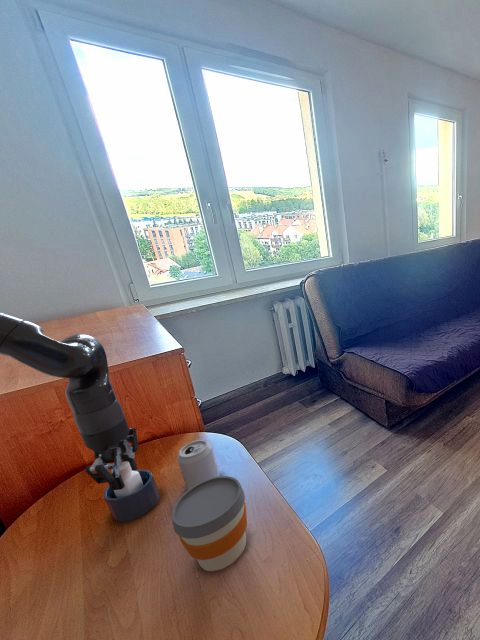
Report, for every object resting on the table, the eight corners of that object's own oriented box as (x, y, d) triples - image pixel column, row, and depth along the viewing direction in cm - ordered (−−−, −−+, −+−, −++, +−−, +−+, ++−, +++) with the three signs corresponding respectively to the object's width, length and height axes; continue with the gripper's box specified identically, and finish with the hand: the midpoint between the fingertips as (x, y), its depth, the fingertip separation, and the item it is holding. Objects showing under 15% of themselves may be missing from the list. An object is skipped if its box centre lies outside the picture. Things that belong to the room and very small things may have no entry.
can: (192, 475, 92) (181, 440, 88) (223, 469, 94) (213, 435, 90) (183, 497, 85) (170, 461, 81) (216, 490, 87) (205, 454, 83)
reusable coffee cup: (262, 552, 72) (249, 502, 67) (194, 595, 65) (173, 542, 59) (246, 513, 81) (234, 465, 76) (185, 546, 73) (166, 496, 68)
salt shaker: (117, 502, 80) (104, 472, 77) (131, 489, 84) (119, 459, 80) (133, 503, 80) (121, 473, 77) (146, 489, 84) (135, 460, 80)
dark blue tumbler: (128, 527, 78) (118, 505, 75) (105, 514, 81) (94, 492, 78) (168, 496, 86) (160, 475, 83) (145, 485, 89) (137, 465, 86)
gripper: (103, 405, 80) (125, 460, 86) (56, 446, 67) (85, 508, 73) (139, 401, 81) (158, 456, 87) (99, 441, 68) (125, 502, 74)
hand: (125, 479), depth 80 cm, fingers closed on salt shaker, 4 cm apart
